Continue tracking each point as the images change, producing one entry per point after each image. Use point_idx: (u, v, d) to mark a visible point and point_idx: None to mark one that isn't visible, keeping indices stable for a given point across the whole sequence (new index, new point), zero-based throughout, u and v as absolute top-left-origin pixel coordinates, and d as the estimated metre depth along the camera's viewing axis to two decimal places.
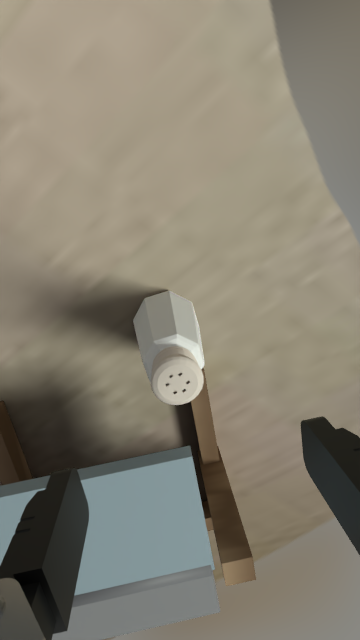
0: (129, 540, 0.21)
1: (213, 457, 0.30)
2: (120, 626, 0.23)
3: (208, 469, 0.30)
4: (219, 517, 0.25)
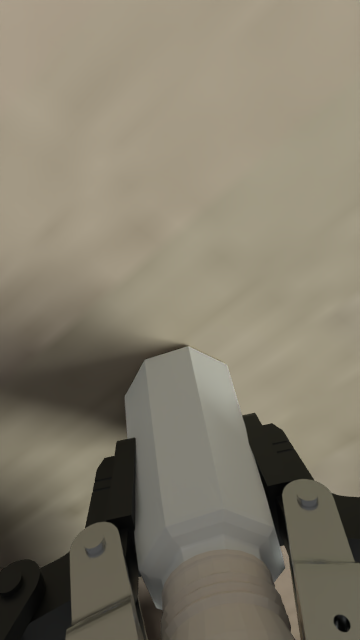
0: None
1: None
2: None
3: None
4: None
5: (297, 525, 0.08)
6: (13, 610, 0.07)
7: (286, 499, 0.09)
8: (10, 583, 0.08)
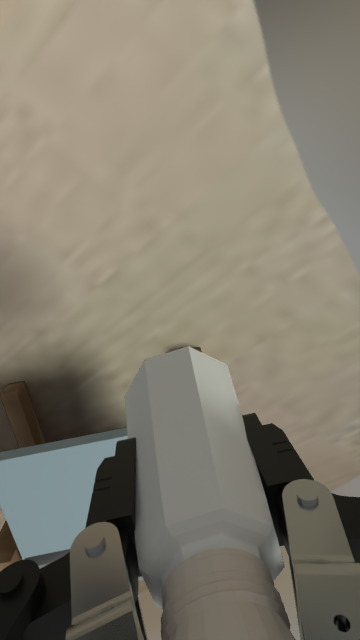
0: None
1: None
2: None
3: None
4: None
5: (297, 525, 0.08)
6: (13, 610, 0.07)
7: (286, 499, 0.09)
8: (10, 583, 0.08)
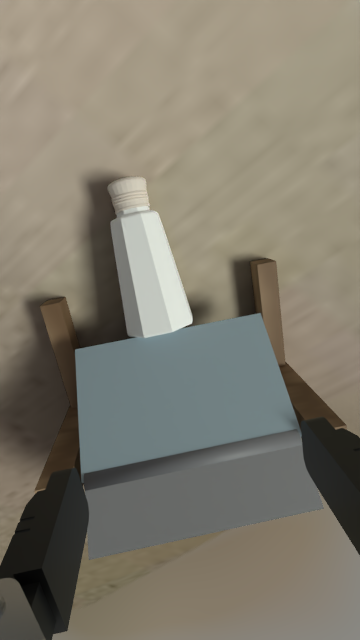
0: (213, 390, 0.23)
1: (279, 360, 0.29)
2: (204, 516, 0.20)
3: None
4: (299, 401, 0.24)
5: None
6: None
7: None
8: None
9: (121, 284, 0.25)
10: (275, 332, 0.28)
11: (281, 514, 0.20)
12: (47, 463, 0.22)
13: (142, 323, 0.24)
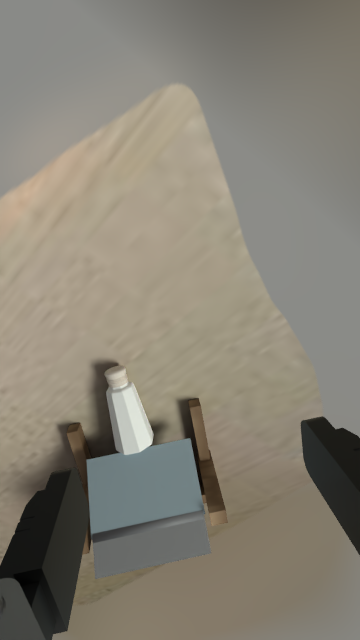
0: (161, 486, 0.43)
1: (206, 457, 0.49)
2: (152, 557, 0.40)
3: (203, 464, 0.49)
4: (208, 490, 0.44)
5: None
6: None
7: None
8: None
9: (112, 424, 0.45)
10: (203, 442, 0.49)
11: (190, 556, 0.40)
12: None
13: (123, 447, 0.44)
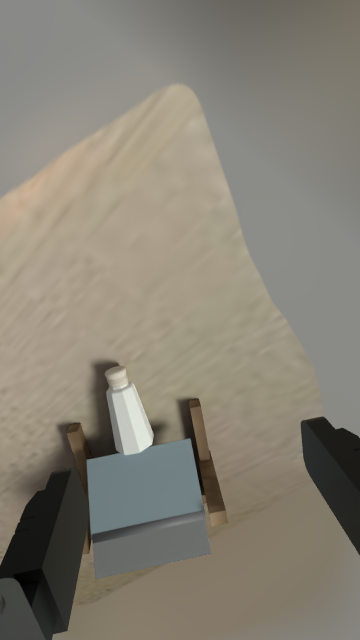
0: (161, 487, 0.43)
1: (206, 457, 0.49)
2: (152, 557, 0.40)
3: (203, 464, 0.49)
4: (208, 491, 0.44)
5: None
6: None
7: None
8: None
9: (112, 424, 0.45)
10: (203, 442, 0.48)
11: (190, 556, 0.40)
12: None
13: (123, 447, 0.44)
